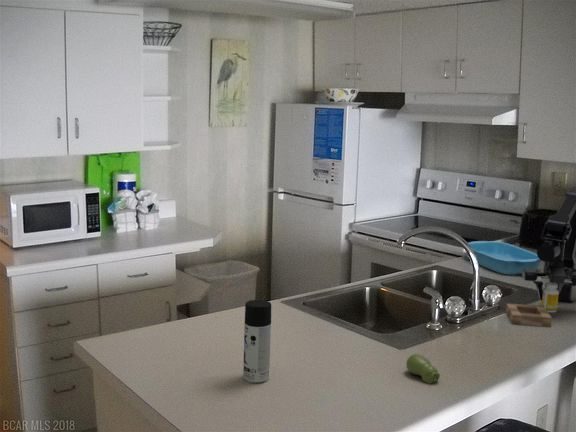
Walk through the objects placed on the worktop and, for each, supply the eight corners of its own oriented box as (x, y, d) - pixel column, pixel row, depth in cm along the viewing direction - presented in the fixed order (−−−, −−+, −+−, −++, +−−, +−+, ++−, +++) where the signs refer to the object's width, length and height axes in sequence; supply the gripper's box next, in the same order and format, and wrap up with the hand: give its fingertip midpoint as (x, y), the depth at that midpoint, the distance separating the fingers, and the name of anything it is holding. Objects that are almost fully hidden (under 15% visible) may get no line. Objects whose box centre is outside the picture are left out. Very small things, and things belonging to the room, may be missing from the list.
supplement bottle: (536, 309, 237) (539, 282, 235) (545, 306, 241) (548, 280, 239) (551, 314, 233) (554, 286, 231) (559, 311, 236) (562, 284, 235)
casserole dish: (453, 256, 307) (454, 240, 305) (496, 253, 314) (497, 238, 312) (505, 280, 272) (506, 262, 271) (551, 276, 280) (553, 259, 278)
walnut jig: (505, 311, 234) (506, 303, 233) (542, 314, 232) (543, 305, 232) (512, 324, 222) (512, 315, 222) (551, 326, 221) (552, 318, 220)
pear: (419, 348, 185) (446, 367, 177) (415, 366, 187) (442, 385, 179) (404, 352, 182) (430, 372, 174) (400, 370, 184) (426, 390, 176)
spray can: (242, 372, 180) (244, 299, 176) (269, 372, 180) (270, 299, 176) (243, 383, 173) (244, 307, 169) (270, 383, 174) (272, 307, 170)
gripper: (530, 260, 226) (525, 306, 229) (590, 264, 224) (584, 310, 227) (523, 252, 237) (519, 295, 240) (580, 255, 235) (575, 299, 238)
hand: (549, 300), depth 236 cm, fingers closed on supplement bottle, 5 cm apart
